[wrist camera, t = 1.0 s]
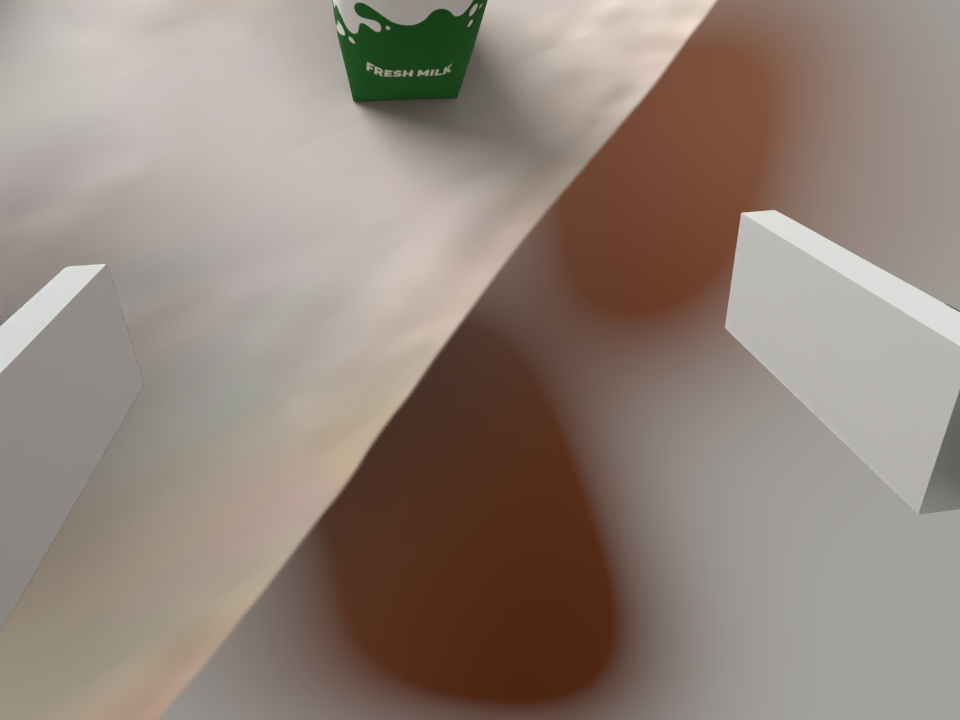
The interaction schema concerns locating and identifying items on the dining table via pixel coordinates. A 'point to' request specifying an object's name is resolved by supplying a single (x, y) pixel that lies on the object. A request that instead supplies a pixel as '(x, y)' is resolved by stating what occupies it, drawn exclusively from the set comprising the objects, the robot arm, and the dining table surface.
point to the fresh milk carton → (406, 46)
